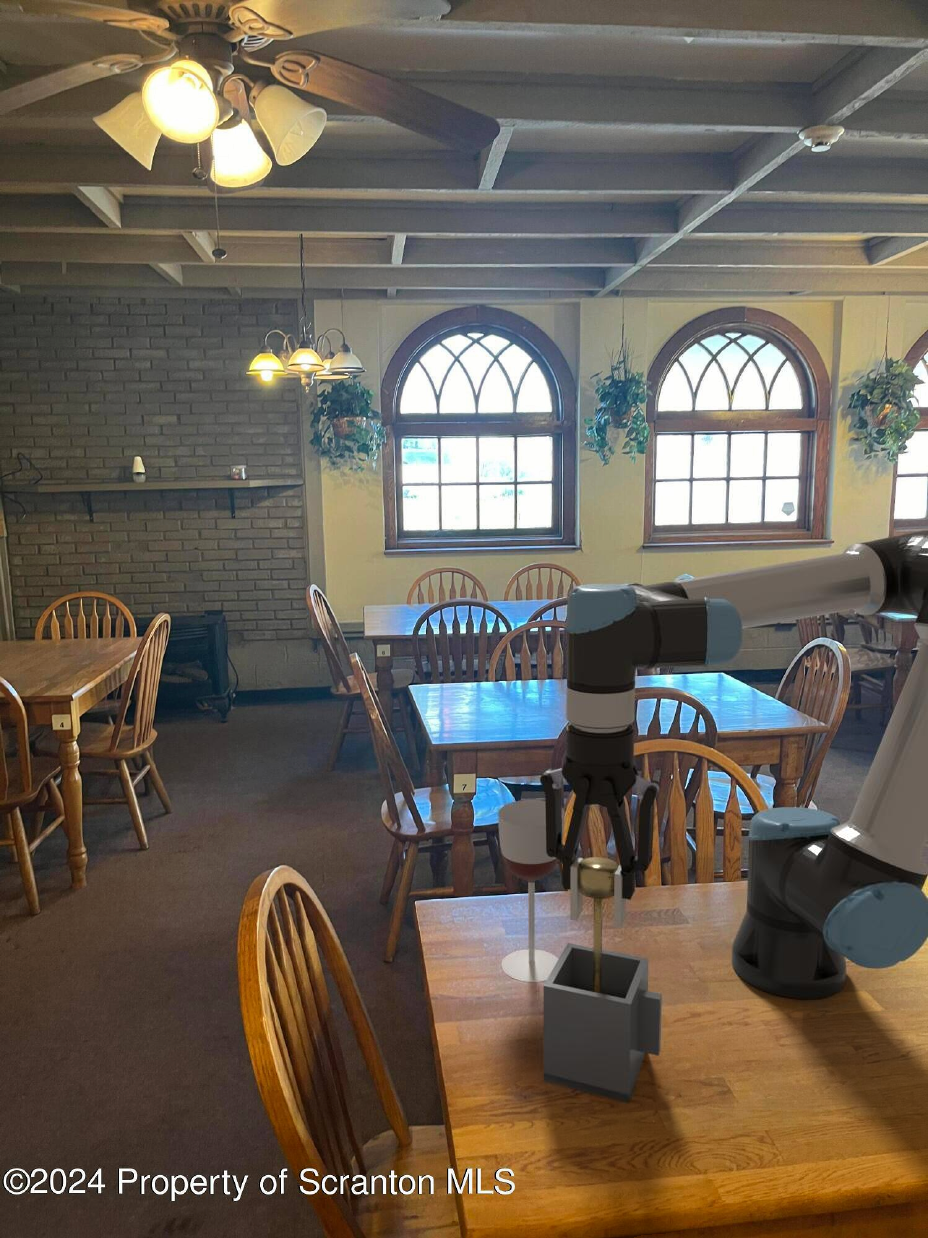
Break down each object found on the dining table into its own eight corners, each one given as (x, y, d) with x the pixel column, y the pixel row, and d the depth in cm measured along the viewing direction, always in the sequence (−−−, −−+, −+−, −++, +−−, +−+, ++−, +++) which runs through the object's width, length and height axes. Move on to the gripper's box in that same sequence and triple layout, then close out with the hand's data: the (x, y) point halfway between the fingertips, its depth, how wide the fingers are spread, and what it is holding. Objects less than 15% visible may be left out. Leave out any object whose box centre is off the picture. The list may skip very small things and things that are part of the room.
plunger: (633, 1005, 106) (636, 857, 103) (620, 1040, 100) (622, 883, 97) (575, 993, 109) (576, 848, 106) (558, 1026, 102) (559, 873, 100)
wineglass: (573, 955, 130) (573, 805, 126) (550, 991, 121) (550, 830, 117) (514, 942, 134) (514, 796, 130) (488, 976, 125) (486, 820, 121)
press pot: (666, 1054, 107) (668, 962, 105) (650, 1108, 98) (652, 1009, 96) (567, 1031, 112) (567, 943, 110) (543, 1081, 103) (543, 985, 101)
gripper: (684, 722, 99) (679, 917, 103) (535, 708, 106) (535, 892, 109) (673, 740, 92) (668, 949, 96) (514, 724, 99) (515, 920, 102)
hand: (597, 918), depth 102 cm, fingers closed on plunger, 4 cm apart
